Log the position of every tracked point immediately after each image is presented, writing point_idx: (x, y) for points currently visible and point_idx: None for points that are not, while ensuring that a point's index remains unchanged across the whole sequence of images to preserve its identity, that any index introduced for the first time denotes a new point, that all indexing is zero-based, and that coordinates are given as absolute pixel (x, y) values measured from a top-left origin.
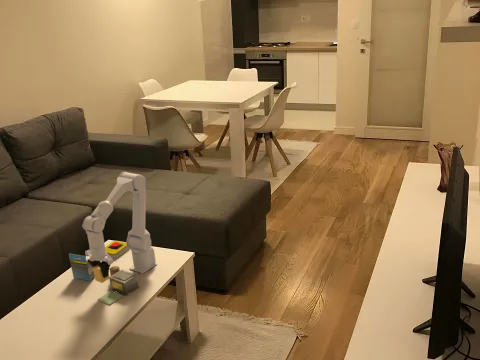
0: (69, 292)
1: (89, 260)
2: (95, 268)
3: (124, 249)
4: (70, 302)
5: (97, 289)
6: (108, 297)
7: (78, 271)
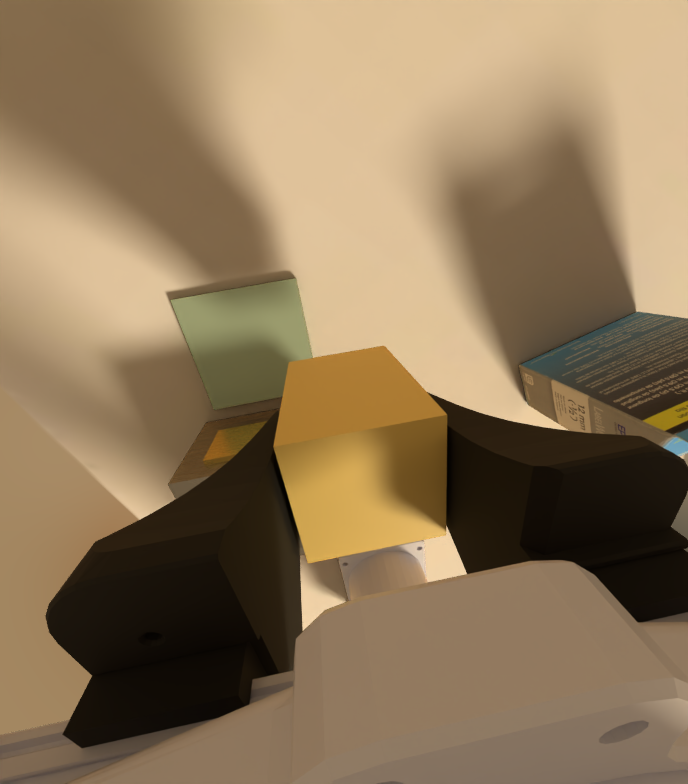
0: (548, 189)
1: (620, 486)
2: (379, 425)
3: None
4: (436, 101)
5: (408, 345)
6: (260, 340)
7: (650, 345)
